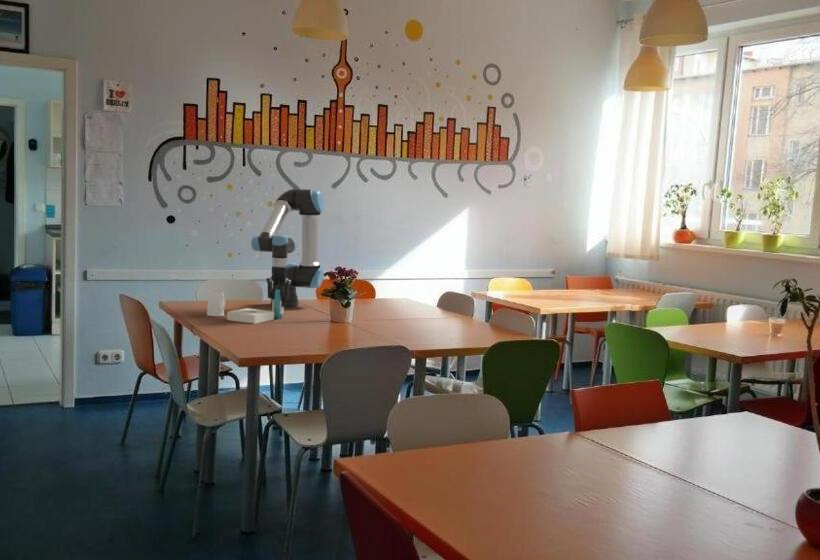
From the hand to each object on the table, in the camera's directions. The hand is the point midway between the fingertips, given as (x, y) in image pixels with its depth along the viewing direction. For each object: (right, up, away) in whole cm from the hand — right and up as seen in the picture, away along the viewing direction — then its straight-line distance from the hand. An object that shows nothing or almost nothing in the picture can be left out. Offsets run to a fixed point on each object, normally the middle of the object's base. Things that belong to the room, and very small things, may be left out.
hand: (277, 312), depth 404 cm
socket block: (-12, -3, -9) cm, 15 cm away
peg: (0, -3, 0) cm, 3 cm away
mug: (-30, -2, -1) cm, 30 cm away
